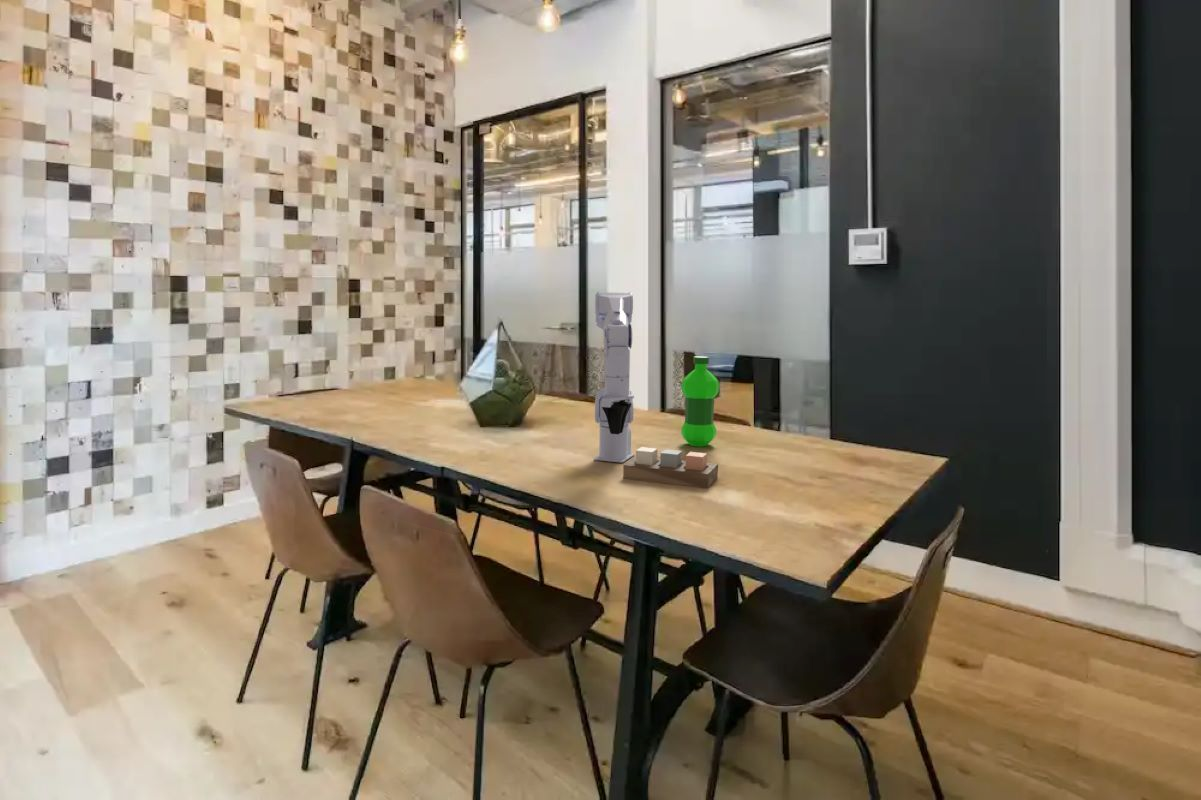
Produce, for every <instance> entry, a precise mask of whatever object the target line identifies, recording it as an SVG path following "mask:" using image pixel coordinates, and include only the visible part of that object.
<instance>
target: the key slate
mask: <svg viewBox="0 0 1201 800" xmlns="http://www.w3.org/2000/svg"><path fill="white" fill-rule="evenodd" d="M659 458H660V466H664V467H673V468H679V467H680V466H681V465H682V460H683V451H682V450H675V449H674V450H673V449H664V450H663V451H661V452H660V457H659Z"/></svg>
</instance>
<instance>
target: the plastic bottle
mask: <svg viewBox="0 0 1201 800" xmlns="http://www.w3.org/2000/svg"><path fill="white" fill-rule="evenodd" d="M709 361H710V357H709V356H706V355H705V356H704V355H703V356H702V355H701V356H699V355H698V356H697V355H696V356H693V361H692V363H693V364H694V369H693V370H692V371H690V372H689V373H688V374H687V375H686V376H685V377H684V378H683V380H682V381H681V393H682V394H683V395H684V397H685V406H684V408H685V409H684V411H685V412H684V423H683V425H682V426H681V428H680V429H681V432H680V433H681V436H682V438H683V439H684V440H685V441H686V442H687V443H688V445H690V446H692V447H707V446H708V445H709V444H710V443H711V442H712V441H713V440H714V439H715V437H716V436H717V428H716V425H715V423H714V413H715V411H714V409H715V397H716V396H717V395H718V394H719V390H720V382H719V380H718V379H717V377H716V376H715V375H714V374H713V373H711V372H710V370H708V369H707V368H708V365H709V364H710V362H709Z"/></svg>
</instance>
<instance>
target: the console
mask: <svg viewBox="0 0 1201 800" xmlns="http://www.w3.org/2000/svg"><path fill="white" fill-rule="evenodd" d="M685 464H686V460H683V459H682V465H681V466H680V467H679V468H673V467H664V466H660V457H657V463H656V464H655V465H645V464H636V456H635V457H633V458H632V459H630V460H629V461H627V462H626V463H624V464H623V469H622V470H623V475H622V476H623V477H622V478H623V479H625V480H627V479H628V480H633V481H634V480H636V481H642V482H643V481H645V482H652V483H661V484H670V485H678V486H679V485H680V486H686V487H695V488H704V489H708V488H710V486H711V485H712V484H713V483H714V482H715V481H716V479H717V478H718V475H719V464H718V463H712V462H711V463H710V462H707V469H705V470H704V471H702V470H692V469H685Z"/></svg>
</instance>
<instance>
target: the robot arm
mask: <svg viewBox="0 0 1201 800" xmlns="http://www.w3.org/2000/svg"><path fill="white" fill-rule="evenodd" d="M594 301H595V302H594V308H595V310H594V313H595V323H596V326H597V327H598V328H600V329H601V330H603V348H604V357H605V359H604V367H605V368H604V374H605V375H604V387H602V388H601V389H600V390H598V391H597V392H596V394H595V398H594V399H595V400H594V422H595V423H596V424H599V454H598V455H597V456H595V457H593V460H594V461H601V462H602V461H603V462H611V463H612V462H613V463H619V464H621V463H624V462H626V461H627V460H629V459H630V458H632V457H634V456H635V453H634V452H632V430H631V428H630V426H629V424H630V425H631V424H632V422H634V401H633V399H635V395H634V394H632V390H630V368H631V367H630V366H631V365H630V364H631V356H630V355H631V349H632V345H633V327H632V324H631V323H632V321H633V320H632V318H633V311H634V295H633V294H632V292H630V291H629V292H602V291H601V292H600V291H597V292H596V293H595V299H594Z"/></svg>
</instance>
